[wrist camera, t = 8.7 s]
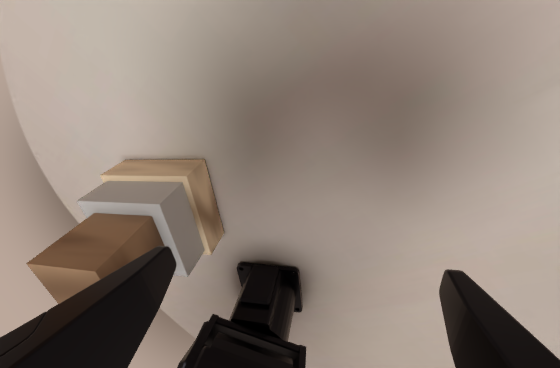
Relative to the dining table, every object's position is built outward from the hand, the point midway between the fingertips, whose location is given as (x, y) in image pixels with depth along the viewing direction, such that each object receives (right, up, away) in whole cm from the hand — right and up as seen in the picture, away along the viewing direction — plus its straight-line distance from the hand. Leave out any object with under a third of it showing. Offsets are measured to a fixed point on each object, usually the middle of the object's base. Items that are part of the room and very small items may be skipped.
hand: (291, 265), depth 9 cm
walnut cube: (-11, -2, +12) cm, 16 cm away
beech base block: (-10, +1, +17) cm, 20 cm away
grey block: (-11, 0, +14) cm, 18 cm away
